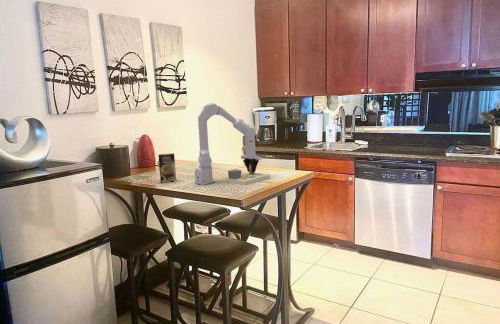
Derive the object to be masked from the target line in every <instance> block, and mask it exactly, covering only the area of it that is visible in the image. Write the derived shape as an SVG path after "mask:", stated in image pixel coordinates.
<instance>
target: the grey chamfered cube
mask: <svg viewBox="0 0 500 324" xmlns="http://www.w3.org/2000/svg"><path fill="white" fill-rule="evenodd" d="M241 173H242V170H241V169H230V170H227V175H228V177H227V178H229V179H238V178H241Z"/></svg>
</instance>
